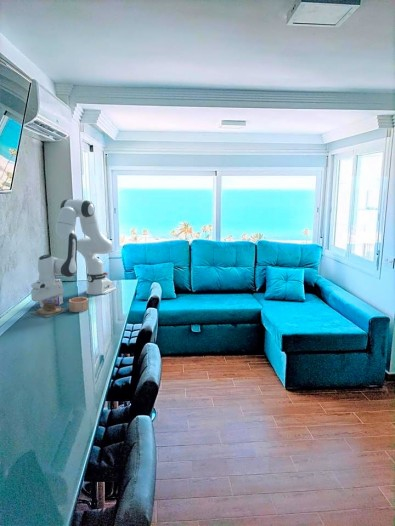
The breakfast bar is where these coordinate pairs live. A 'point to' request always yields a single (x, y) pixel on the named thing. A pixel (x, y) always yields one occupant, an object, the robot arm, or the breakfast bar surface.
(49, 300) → the candy box
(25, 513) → the breakfast bar surface
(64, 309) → the charcoal mat
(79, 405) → the breakfast bar surface
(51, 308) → the walnut lid
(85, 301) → the terracotta bowl
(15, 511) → the breakfast bar surface
